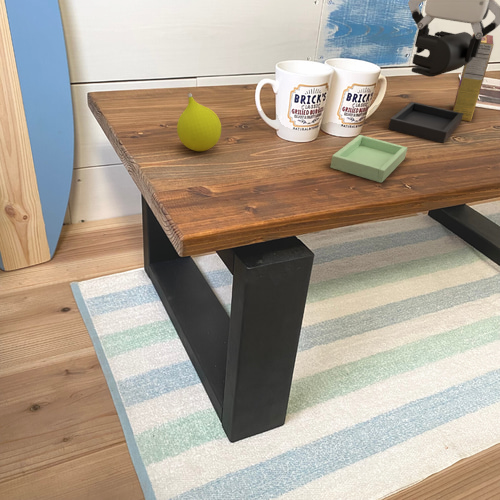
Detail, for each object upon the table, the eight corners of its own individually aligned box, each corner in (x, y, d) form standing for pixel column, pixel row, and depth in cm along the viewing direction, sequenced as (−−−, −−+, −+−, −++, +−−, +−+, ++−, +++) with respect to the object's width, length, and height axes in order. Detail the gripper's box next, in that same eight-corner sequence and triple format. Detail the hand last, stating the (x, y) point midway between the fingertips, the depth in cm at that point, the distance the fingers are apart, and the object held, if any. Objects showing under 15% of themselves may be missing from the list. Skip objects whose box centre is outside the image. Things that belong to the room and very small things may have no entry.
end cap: (443, 81, 90) (454, 41, 86) (408, 72, 94) (417, 32, 90) (469, 73, 96) (481, 35, 92) (435, 64, 100) (445, 27, 96)
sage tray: (404, 158, 86) (407, 147, 85) (381, 183, 78) (384, 170, 77) (357, 145, 90) (359, 134, 89) (330, 167, 81) (332, 155, 80)
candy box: (451, 106, 112) (473, 32, 104) (472, 109, 111) (495, 35, 103) (449, 118, 105) (471, 40, 97) (470, 122, 104) (495, 43, 96)
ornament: (177, 140, 87) (176, 81, 81) (219, 141, 87) (221, 82, 82) (176, 158, 81) (175, 95, 75) (221, 158, 82) (223, 96, 76)
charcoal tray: (460, 123, 103) (463, 113, 102) (443, 143, 94) (446, 132, 92) (409, 111, 108) (411, 101, 106) (387, 129, 98) (390, 118, 97)
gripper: (533, -50, 83) (496, 61, 92) (427, -60, 90) (403, 44, 99) (527, -49, 77) (489, 69, 87) (414, -60, 84) (391, 51, 94)
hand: (443, 55), depth 93 cm, fingers closed on end cap, 8 cm apart
